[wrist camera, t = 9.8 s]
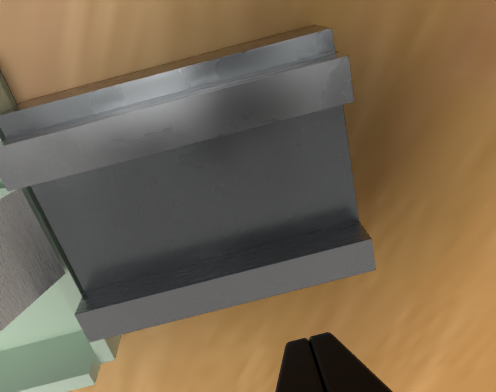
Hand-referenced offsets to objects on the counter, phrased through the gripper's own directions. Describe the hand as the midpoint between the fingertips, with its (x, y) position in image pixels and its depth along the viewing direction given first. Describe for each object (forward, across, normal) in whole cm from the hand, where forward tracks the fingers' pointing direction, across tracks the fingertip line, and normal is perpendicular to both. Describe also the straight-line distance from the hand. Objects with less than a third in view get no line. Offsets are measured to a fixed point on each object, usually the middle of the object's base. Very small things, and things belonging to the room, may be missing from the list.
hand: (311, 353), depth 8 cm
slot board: (+12, +2, +1) cm, 12 cm away
